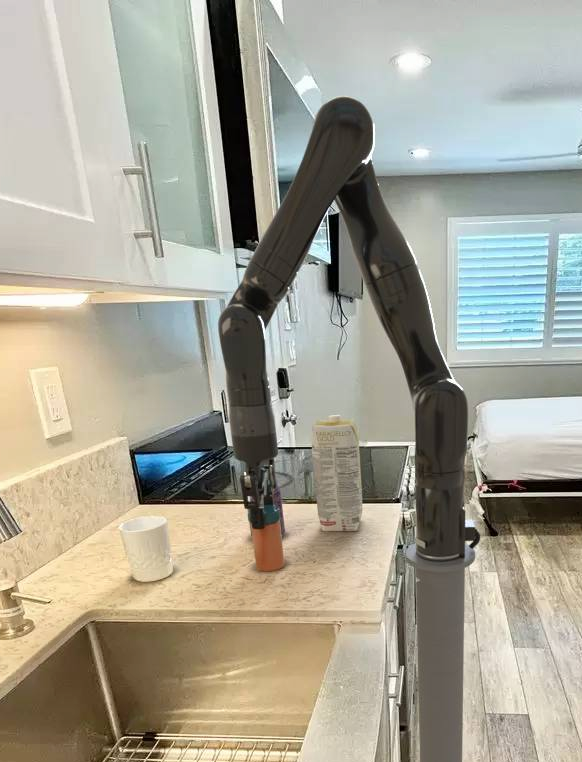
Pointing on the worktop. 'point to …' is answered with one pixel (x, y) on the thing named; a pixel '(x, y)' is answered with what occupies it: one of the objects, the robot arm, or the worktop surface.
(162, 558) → the white cup
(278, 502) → the beverage can
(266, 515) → the jar lid
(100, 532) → the worktop surface
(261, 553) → the jam jar
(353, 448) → the juice carton
